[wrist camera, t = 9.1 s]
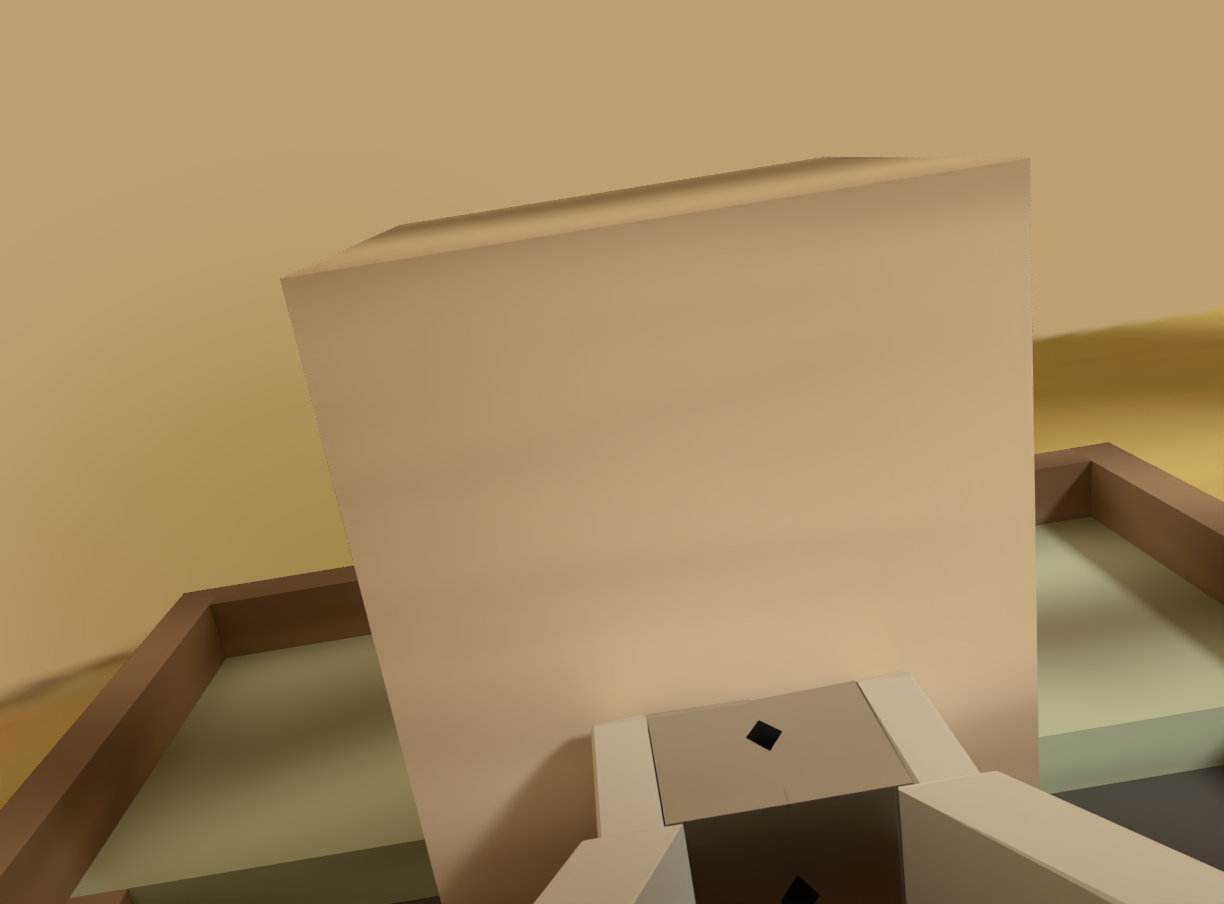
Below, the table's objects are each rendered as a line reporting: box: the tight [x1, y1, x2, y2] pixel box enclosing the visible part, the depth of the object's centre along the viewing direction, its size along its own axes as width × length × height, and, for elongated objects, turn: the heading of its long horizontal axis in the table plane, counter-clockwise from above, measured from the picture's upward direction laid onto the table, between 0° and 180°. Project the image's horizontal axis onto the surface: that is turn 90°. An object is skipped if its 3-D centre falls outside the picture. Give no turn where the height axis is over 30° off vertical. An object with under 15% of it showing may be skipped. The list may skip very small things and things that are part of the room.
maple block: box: [280, 157, 1039, 904], centre depth 12 cm, size 6×6×10 cm
